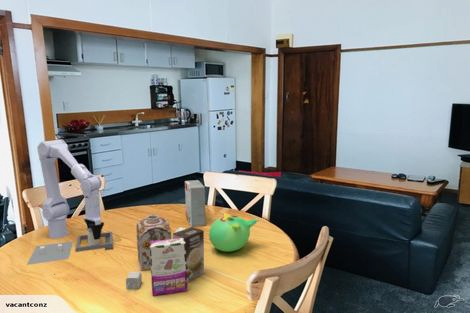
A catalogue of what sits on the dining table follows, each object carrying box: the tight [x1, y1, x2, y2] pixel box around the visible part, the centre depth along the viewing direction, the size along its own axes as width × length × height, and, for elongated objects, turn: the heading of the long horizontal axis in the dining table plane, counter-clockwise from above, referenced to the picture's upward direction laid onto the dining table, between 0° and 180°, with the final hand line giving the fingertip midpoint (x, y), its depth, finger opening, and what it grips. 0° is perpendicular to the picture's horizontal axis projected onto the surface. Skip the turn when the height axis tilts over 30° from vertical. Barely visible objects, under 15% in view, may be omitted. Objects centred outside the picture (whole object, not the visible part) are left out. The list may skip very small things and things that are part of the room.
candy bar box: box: [150, 238, 188, 297], centre depth 111 cm, size 11×5×16 cm, turn 105°
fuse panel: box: [26, 241, 74, 266], centre depth 138 cm, size 18×14×4 cm
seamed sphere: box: [174, 226, 187, 233], centre depth 149 cm, size 10×7×7 cm
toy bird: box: [208, 212, 259, 252], centre depth 142 cm, size 18×17×15 cm
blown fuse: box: [86, 227, 101, 246], centre depth 147 cm, size 3×4×7 cm
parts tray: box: [75, 231, 114, 253], centre depth 148 cm, size 14×14×2 cm
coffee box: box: [172, 226, 205, 283], centre depth 120 cm, size 9×6×16 cm
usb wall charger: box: [125, 271, 143, 290], centre depth 113 cm, size 4×7×4 cm, turn 2°
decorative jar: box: [136, 214, 173, 272], centre depth 130 cm, size 12×12×18 cm
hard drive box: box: [184, 179, 207, 228], centre depth 175 cm, size 16×8×20 cm, turn 17°
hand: (94, 236), depth 147 cm, fingers open, 7 cm apart
